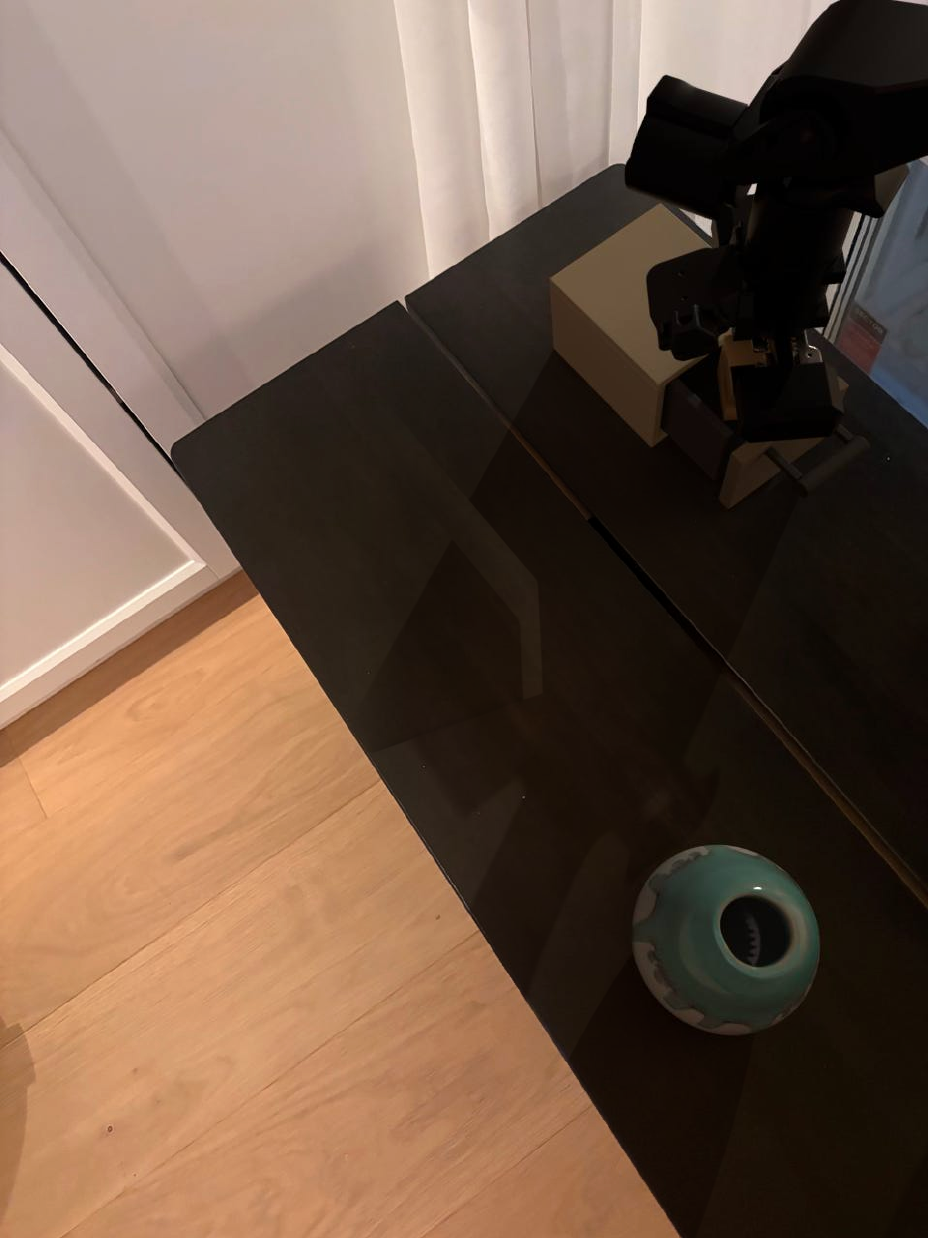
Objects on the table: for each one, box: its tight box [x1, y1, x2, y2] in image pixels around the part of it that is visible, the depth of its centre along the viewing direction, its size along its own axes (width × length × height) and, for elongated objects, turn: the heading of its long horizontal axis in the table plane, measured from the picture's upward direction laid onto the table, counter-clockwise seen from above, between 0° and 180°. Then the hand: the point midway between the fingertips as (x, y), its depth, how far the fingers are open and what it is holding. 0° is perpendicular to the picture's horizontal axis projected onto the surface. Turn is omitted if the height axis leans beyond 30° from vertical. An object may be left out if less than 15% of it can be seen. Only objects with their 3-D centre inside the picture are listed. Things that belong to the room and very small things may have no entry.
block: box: [717, 335, 770, 421], centre depth 68 cm, size 4×4×4 cm
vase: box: [630, 844, 821, 1036], centre depth 55 cm, size 12×12×18 cm
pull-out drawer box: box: [660, 345, 871, 510], centre depth 72 cm, size 17×10×7 cm, turn 36°
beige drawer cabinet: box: [548, 202, 732, 448], centre depth 77 cm, size 14×12×9 cm
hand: (752, 385), depth 69 cm, fingers closed on block, 4 cm apart
